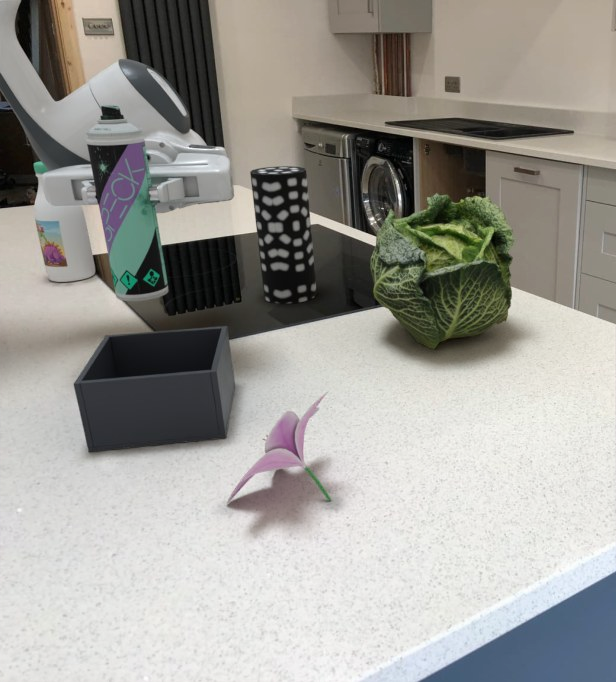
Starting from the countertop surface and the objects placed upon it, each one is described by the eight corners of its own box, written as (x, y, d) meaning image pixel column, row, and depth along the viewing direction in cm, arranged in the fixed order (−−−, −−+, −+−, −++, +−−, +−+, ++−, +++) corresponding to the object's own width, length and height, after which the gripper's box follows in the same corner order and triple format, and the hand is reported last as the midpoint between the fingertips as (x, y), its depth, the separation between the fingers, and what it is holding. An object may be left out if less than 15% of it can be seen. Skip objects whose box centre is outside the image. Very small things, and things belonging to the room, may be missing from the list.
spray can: (114, 290, 83) (78, 105, 75) (165, 283, 85) (135, 103, 78) (118, 304, 78) (81, 108, 71) (172, 296, 81) (141, 106, 73)
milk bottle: (89, 268, 135) (67, 157, 128) (101, 277, 130) (79, 161, 122) (43, 276, 130) (17, 161, 123) (54, 285, 125) (28, 166, 118)
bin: (88, 452, 73) (73, 383, 70) (117, 395, 85) (105, 335, 82) (226, 438, 75) (216, 371, 72) (235, 384, 87) (227, 325, 84)
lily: (342, 457, 73) (290, 378, 71) (399, 462, 64) (340, 371, 61) (244, 538, 67) (184, 454, 65) (291, 557, 58) (221, 460, 55)
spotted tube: (255, 294, 119) (240, 170, 112) (300, 284, 124) (289, 164, 117) (279, 307, 113) (265, 176, 106) (326, 296, 118) (316, 170, 111)
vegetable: (414, 395, 100) (406, 296, 84) (354, 303, 110) (337, 200, 95) (535, 338, 106) (549, 236, 90) (467, 256, 117) (469, 152, 101)
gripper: (62, 150, 87) (11, 168, 75) (238, 146, 90) (217, 163, 77) (73, 203, 90) (25, 229, 77) (244, 198, 92) (225, 222, 79)
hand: (123, 196), depth 77 cm, fingers closed on spray can, 5 cm apart
